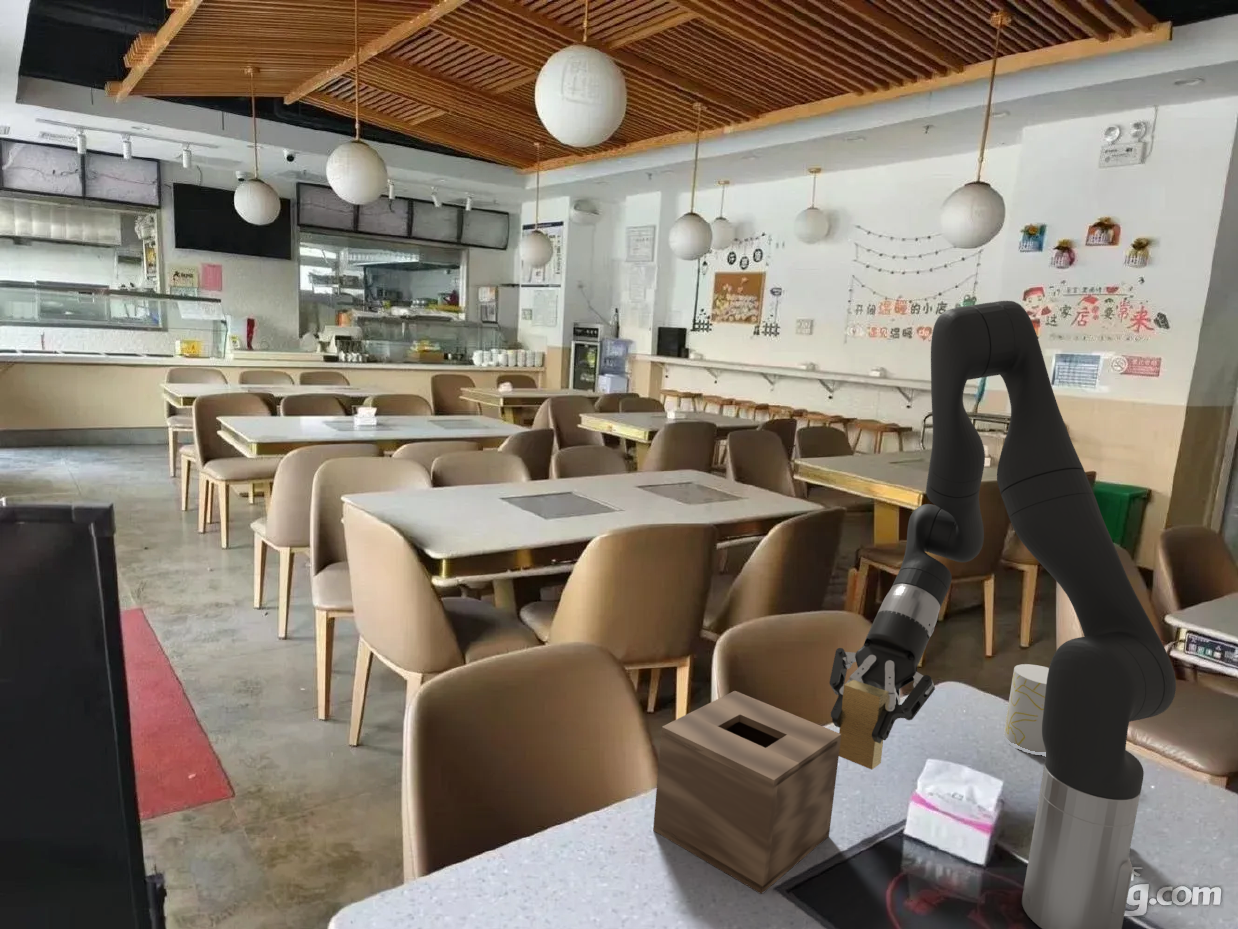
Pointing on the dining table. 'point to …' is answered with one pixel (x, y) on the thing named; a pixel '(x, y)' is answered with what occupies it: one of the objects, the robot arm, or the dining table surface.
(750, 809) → the box
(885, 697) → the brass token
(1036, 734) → the cup
